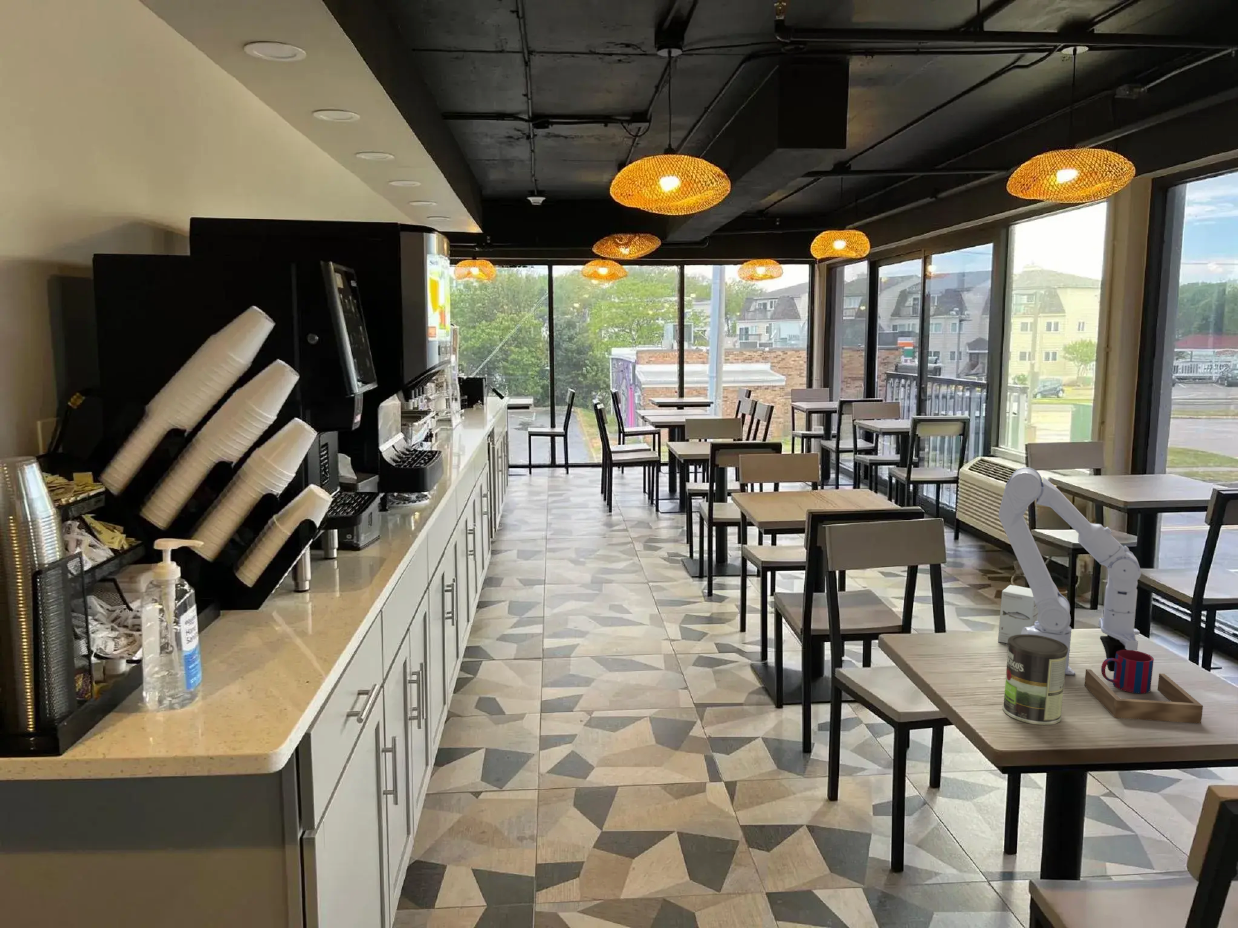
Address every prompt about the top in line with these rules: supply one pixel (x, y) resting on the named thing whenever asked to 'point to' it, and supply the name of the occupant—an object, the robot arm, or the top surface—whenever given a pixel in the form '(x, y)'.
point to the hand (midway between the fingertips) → (1114, 670)
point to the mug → (1131, 671)
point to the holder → (1148, 702)
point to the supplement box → (1016, 611)
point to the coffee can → (1035, 679)
